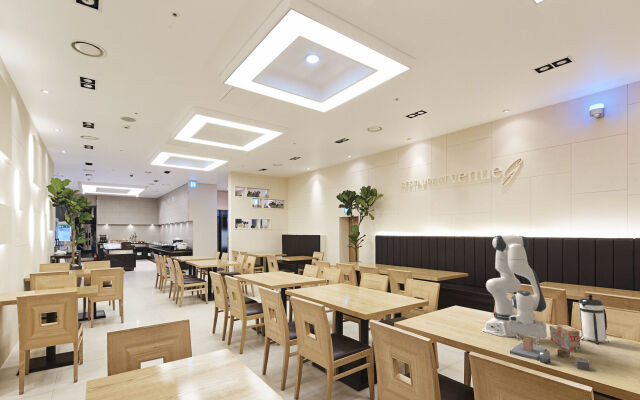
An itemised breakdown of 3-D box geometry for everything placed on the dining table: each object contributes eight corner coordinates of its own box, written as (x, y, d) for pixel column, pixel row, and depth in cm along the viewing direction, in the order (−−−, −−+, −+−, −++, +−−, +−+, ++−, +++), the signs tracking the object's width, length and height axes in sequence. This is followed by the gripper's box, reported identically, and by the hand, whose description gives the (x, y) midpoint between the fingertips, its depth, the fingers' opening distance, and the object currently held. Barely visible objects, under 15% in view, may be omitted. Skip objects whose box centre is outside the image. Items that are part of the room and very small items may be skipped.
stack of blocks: (550, 339, 220) (548, 320, 221) (560, 340, 219) (559, 321, 220) (570, 351, 199) (568, 330, 200) (581, 351, 198) (579, 330, 199)
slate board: (509, 353, 197) (509, 350, 197) (521, 345, 210) (521, 342, 210) (536, 360, 186) (536, 357, 187) (547, 351, 200) (547, 348, 200)
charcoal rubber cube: (577, 369, 174) (577, 361, 174) (576, 365, 178) (576, 358, 179) (590, 371, 171) (589, 363, 172) (588, 367, 176) (588, 360, 176)
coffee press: (614, 346, 205) (609, 297, 207) (581, 342, 213) (577, 295, 216) (608, 338, 219) (604, 292, 222) (577, 335, 228) (574, 290, 230)
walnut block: (557, 356, 191) (557, 349, 191) (559, 354, 195) (559, 347, 195) (568, 359, 187) (567, 351, 188) (570, 356, 191) (569, 349, 191)
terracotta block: (523, 349, 199) (522, 339, 199) (525, 347, 201) (525, 337, 202) (531, 351, 196) (530, 340, 196) (533, 349, 198) (532, 339, 199)
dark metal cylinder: (538, 362, 184) (537, 352, 184) (541, 359, 187) (540, 350, 187) (549, 364, 180) (548, 355, 180) (551, 362, 183) (551, 352, 184)
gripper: (547, 321, 194) (549, 345, 193) (509, 314, 210) (511, 337, 209) (544, 323, 190) (545, 348, 189) (506, 316, 206) (507, 339, 205)
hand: (527, 342), depth 199 cm, fingers open, 8 cm apart
